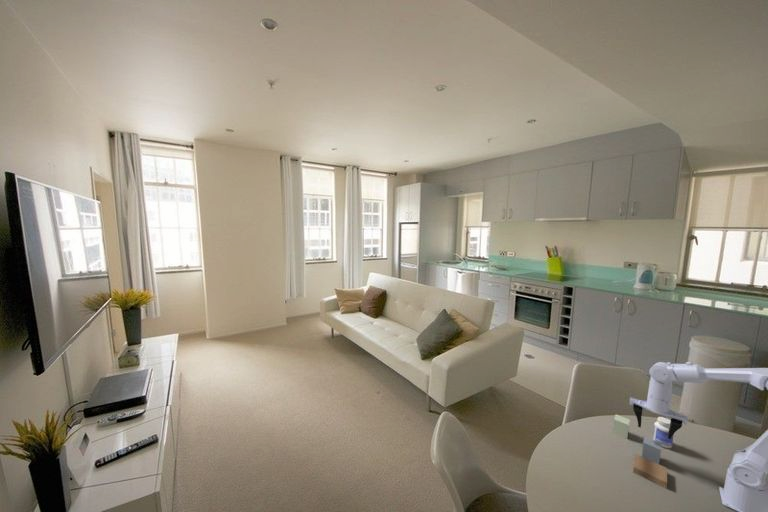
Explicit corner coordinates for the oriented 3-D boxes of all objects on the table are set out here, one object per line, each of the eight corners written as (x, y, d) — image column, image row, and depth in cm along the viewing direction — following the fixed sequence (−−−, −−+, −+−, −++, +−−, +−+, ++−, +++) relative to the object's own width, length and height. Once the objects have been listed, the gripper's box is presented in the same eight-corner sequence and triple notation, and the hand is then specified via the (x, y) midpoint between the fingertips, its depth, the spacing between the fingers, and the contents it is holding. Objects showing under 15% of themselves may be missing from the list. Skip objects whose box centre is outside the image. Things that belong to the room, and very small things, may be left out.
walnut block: (665, 474, 94) (666, 467, 94) (666, 489, 88) (667, 482, 88) (634, 460, 100) (635, 453, 99) (632, 473, 94) (633, 466, 94)
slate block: (658, 458, 100) (661, 443, 100) (658, 465, 97) (661, 449, 96) (642, 450, 103) (644, 436, 103) (641, 457, 100) (643, 442, 100)
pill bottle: (675, 450, 104) (679, 426, 103) (659, 447, 105) (662, 424, 104) (664, 439, 109) (667, 416, 108) (648, 436, 110) (651, 414, 109)
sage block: (628, 433, 112) (629, 419, 111) (627, 439, 109) (628, 425, 108) (613, 427, 115) (615, 414, 115) (612, 432, 112) (614, 419, 111)
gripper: (688, 401, 95) (682, 437, 97) (632, 383, 105) (628, 416, 107) (690, 410, 90) (684, 448, 92) (631, 390, 100) (626, 425, 102)
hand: (654, 431), depth 99 cm, fingers open, 7 cm apart
